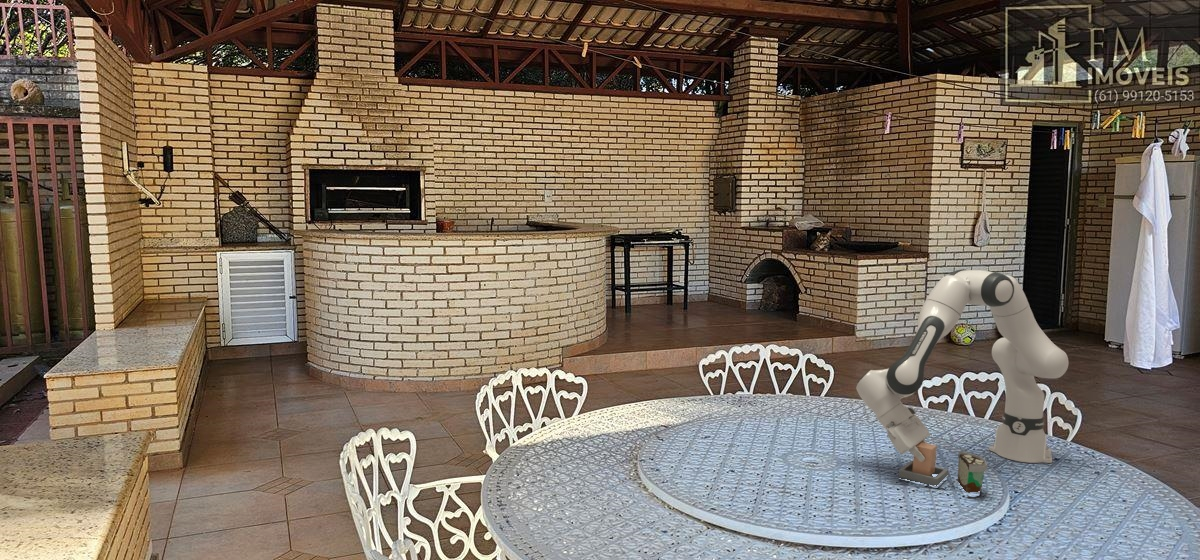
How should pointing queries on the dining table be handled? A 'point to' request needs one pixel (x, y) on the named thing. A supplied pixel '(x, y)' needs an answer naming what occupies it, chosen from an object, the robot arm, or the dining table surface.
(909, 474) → the tray
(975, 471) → the food container
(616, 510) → the dining table surface
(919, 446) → the tan rounded block
